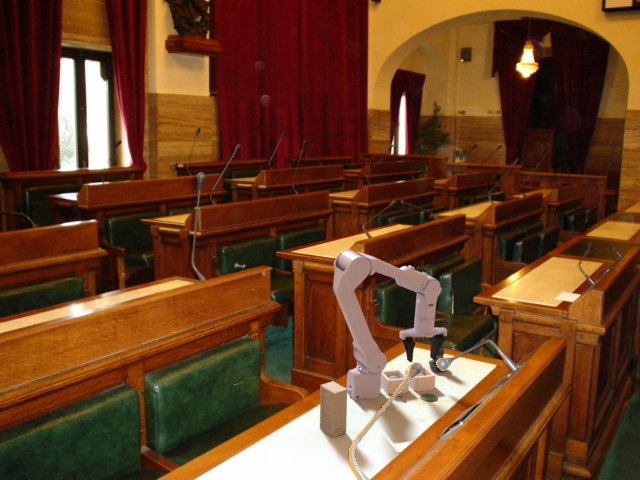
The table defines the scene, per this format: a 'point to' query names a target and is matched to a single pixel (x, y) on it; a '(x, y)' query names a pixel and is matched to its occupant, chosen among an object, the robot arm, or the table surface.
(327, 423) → the skincare box
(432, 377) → the beige open box
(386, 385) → the open square box
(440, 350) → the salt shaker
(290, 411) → the table surface
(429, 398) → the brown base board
